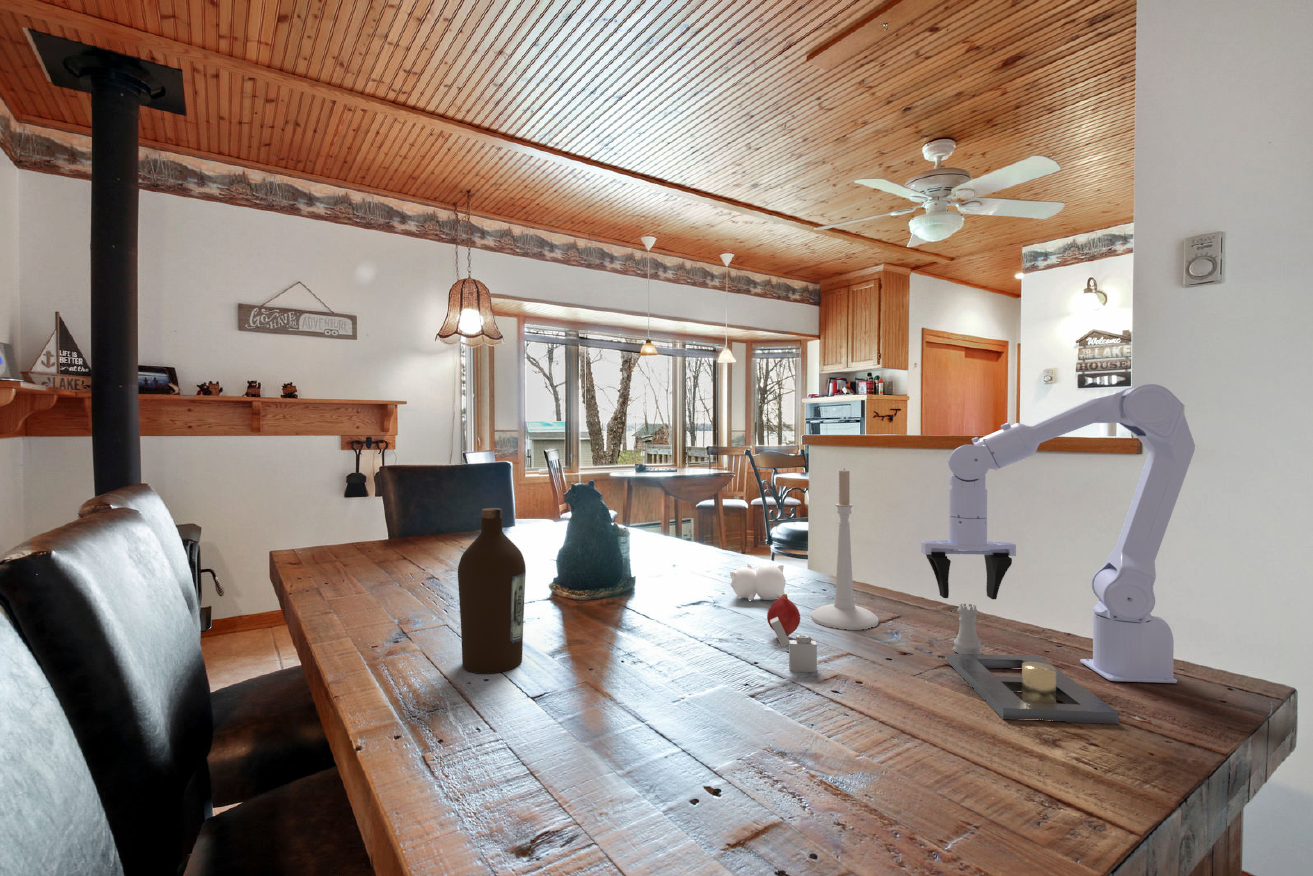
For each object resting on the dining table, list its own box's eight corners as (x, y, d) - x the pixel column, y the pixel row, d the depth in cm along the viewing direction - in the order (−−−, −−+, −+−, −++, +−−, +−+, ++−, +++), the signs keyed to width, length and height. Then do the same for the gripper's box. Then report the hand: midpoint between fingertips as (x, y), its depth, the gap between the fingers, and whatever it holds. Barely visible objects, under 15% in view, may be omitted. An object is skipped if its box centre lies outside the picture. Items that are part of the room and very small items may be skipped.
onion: (764, 640, 112) (764, 596, 112) (770, 631, 117) (770, 588, 117) (797, 644, 110) (797, 599, 110) (802, 634, 115) (802, 591, 115)
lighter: (815, 667, 99) (815, 617, 99) (817, 672, 97) (817, 620, 97) (769, 666, 100) (769, 616, 100) (770, 670, 98) (770, 619, 98)
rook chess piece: (986, 658, 103) (986, 609, 103) (956, 656, 104) (957, 608, 104) (978, 649, 107) (978, 602, 107) (950, 647, 108) (950, 601, 108)
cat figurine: (729, 557, 139) (784, 556, 137) (731, 573, 148) (783, 573, 146) (730, 596, 134) (787, 596, 133) (732, 610, 143) (785, 610, 142)
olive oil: (450, 676, 96) (448, 513, 96) (468, 652, 107) (467, 505, 106) (519, 675, 96) (518, 513, 96) (531, 651, 107) (530, 504, 107)
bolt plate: (1039, 665, 100) (1039, 634, 100) (1118, 724, 80) (1118, 685, 80) (947, 662, 101) (947, 631, 101) (1003, 719, 81) (1003, 681, 81)
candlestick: (885, 616, 126) (885, 467, 126) (869, 634, 115) (869, 471, 115) (822, 607, 133) (822, 465, 133) (801, 623, 122) (801, 469, 122)
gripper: (1002, 513, 108) (1002, 592, 109) (915, 513, 110) (915, 590, 110) (1022, 519, 101) (1021, 603, 102) (929, 518, 103) (928, 601, 103)
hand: (967, 597), depth 105 cm, fingers open, 7 cm apart
